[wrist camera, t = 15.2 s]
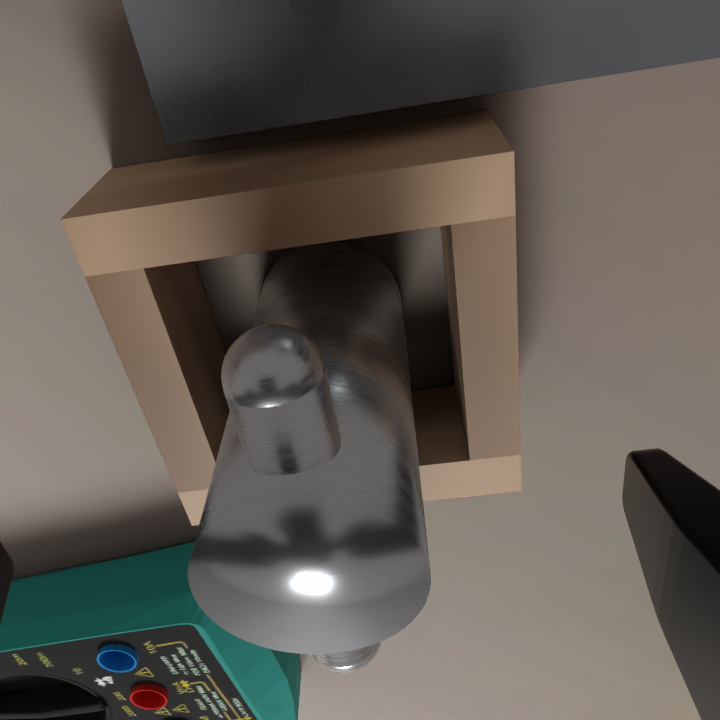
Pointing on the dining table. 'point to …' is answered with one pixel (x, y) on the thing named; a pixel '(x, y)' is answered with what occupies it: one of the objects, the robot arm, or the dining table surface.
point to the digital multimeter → (133, 649)
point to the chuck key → (317, 468)
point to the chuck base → (389, 53)
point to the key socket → (306, 227)
